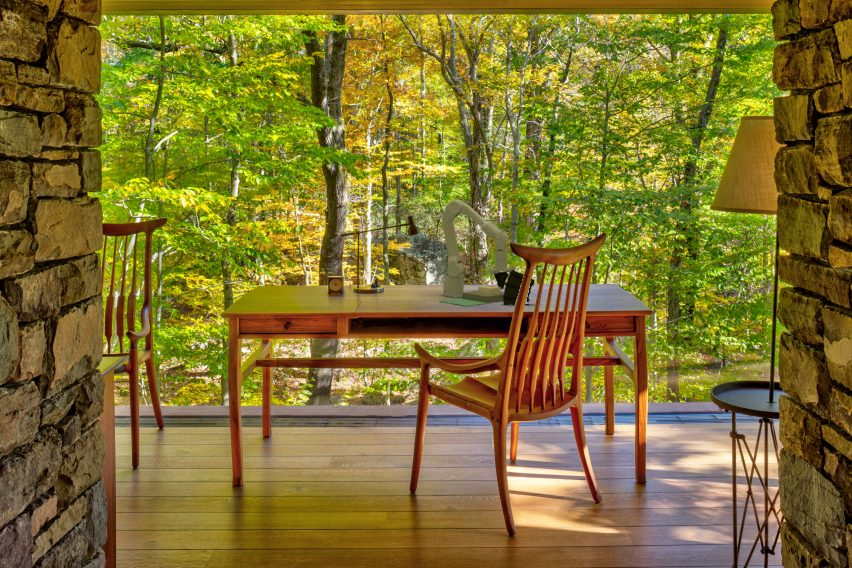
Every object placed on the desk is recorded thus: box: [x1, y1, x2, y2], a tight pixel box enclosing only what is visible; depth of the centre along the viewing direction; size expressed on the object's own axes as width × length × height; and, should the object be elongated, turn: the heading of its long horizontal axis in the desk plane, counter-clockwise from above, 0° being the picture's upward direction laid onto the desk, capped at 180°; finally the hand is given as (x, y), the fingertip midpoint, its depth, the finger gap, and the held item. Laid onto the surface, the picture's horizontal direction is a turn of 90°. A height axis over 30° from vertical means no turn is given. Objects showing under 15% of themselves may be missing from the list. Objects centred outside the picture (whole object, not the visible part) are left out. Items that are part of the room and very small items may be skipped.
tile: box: [477, 285, 502, 294], centre depth 353 cm, size 8×6×2 cm
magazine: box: [502, 269, 536, 306], centre depth 338 cm, size 4×13×15 cm, turn 84°
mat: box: [439, 297, 488, 308], centre depth 344 cm, size 18×12×1 cm, turn 40°
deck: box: [462, 290, 504, 304], centre depth 352 cm, size 16×14×3 cm
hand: (501, 289), depth 358 cm, fingers closed
